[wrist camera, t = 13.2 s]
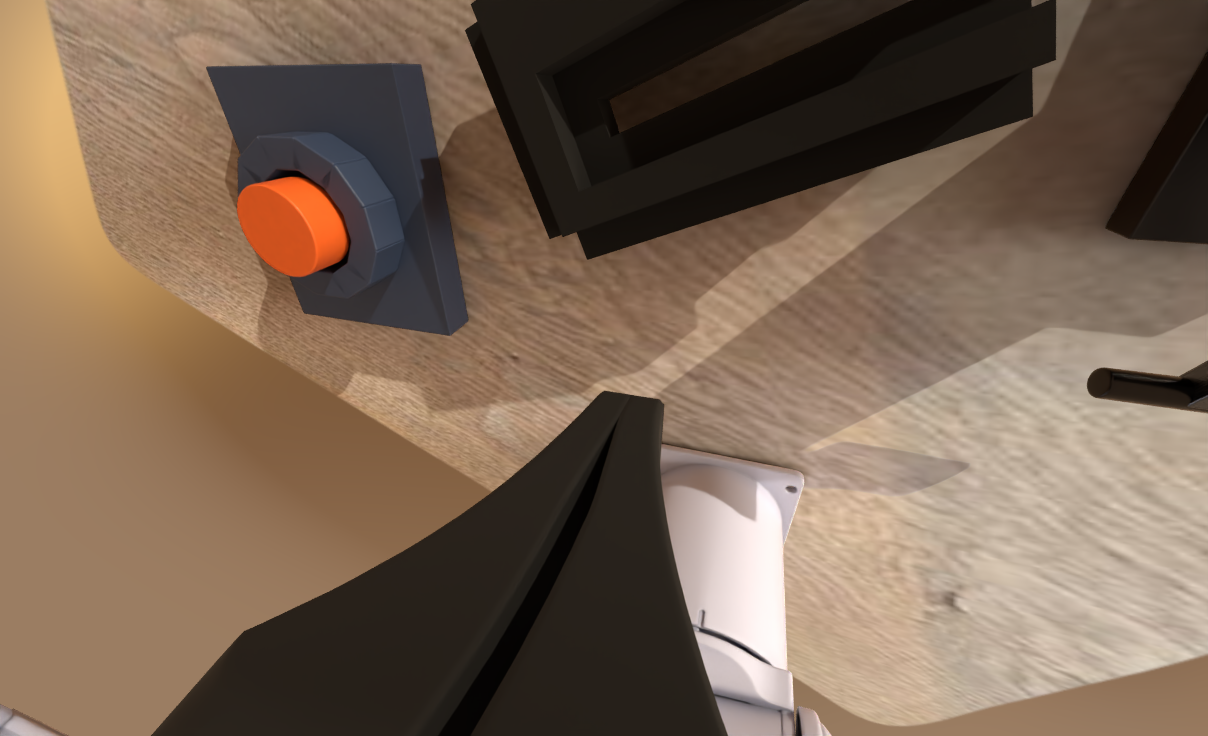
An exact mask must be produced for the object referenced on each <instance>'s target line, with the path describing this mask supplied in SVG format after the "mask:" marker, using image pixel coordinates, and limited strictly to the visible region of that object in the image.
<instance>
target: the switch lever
mask: <svg viewBox="0 0 1208 736" xmlns="http://www.w3.org/2000/svg"><path fill="white" fill-rule="evenodd" d="M1087 389H1088V392H1089V394H1090V395H1091V396H1093V397H1095V398H1100V399H1107V400H1114V401H1122V402H1129V403H1136V404H1143V405H1151V406H1158V407H1165V408H1173V409H1180V410H1187V411H1194V412H1202V413H1208V361H1206V362H1204V363H1202V364H1201V365H1199V366H1197V367H1195V368H1193V369H1192V370H1190V371H1188V372H1186V373H1184V374H1182V375H1181V376H1179V377H1178V376H1170V375H1161V374H1153V373H1145V372H1137V371H1129V370H1121V369H1113V368H1099V369H1096V370H1095V371H1093V372H1092V373H1091V375H1090V376H1089V378H1088V381H1087Z"/></svg>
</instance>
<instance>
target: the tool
mask: <svg viewBox="0 0 1208 736" xmlns="http://www.w3.org/2000/svg"><path fill="white" fill-rule="evenodd" d="M806 1H808V0H476V1H474V2H473V3H472V4H471V6H472V9H473V11H474V14H475V16H476V19H477V22H476V23H475V24H473V25H472V26H470V27H469V28H467V29H466V30H465V32H466V34H467V37H468V39H469V41H470V44H471V46H472V49H473V51H474V54H475V56H476V59H477V61H478V64H479V66H480V69H481V71H482V73H483V76H484V78H485V81H486V83H487V86H488V88H489V91H490V93H491V96H492V98H493V101H494V103H495V106H496V108H497V110H498V113H499V115H500V118H501V120H502V123H503V125H504V128H505V130H506V133H507V135H508V138H509V140H510V142H511V145H512V147H513V150H514V152H515V155H516V157H517V160H518V162H519V165H520V167H521V170H522V172H523V174H524V177H525V179H526V182H527V184H528V187H529V189H530V192H531V194H532V197H533V199H534V202H535V204H536V207H537V209H538V211H539V214H540V216H541V219H542V221H543V224H544V226H545V229H546V231H547V234H548V236H549V239H551V238H554V237H557V236H560V235H562V237H564V236H567V235H570V234H573V233H575V232H577V234H578V237H579V240H580V242H581V245H582V247H583V250H584V253H585V255H586V258H587V260H589V259H592V258H595V257H598V256H601V255H604V254H607V253H610V252H613V251H617V250H620V249H623V248H626V247H629V246H632V245H635V244H638V243H641V242H644V241H648V240H651V239H654V238H657V237H660V236H663V235H666V234H669V233H672V232H676V231H679V230H682V229H685V228H688V227H691V226H694V225H697V224H700V223H703V222H707V221H710V220H713V219H716V218H719V217H722V216H725V215H728V214H731V213H735V212H738V211H741V210H744V209H747V208H750V207H753V206H756V205H759V204H763V203H766V202H769V201H772V200H775V199H778V198H781V197H784V196H787V195H790V194H794V193H797V192H800V191H803V190H806V189H809V188H812V187H815V186H818V185H822V184H825V183H828V182H831V181H834V180H837V179H840V178H843V177H846V176H849V175H853V174H856V173H859V172H862V171H865V170H868V169H871V168H874V167H877V166H881V165H884V164H887V163H890V162H893V161H896V160H899V159H902V158H905V157H909V156H912V155H915V154H918V153H921V152H924V151H927V150H930V149H933V148H936V147H940V146H943V145H946V144H949V143H952V142H955V141H958V140H961V139H964V138H968V137H971V136H974V135H977V134H980V133H983V132H986V131H989V130H992V129H995V128H999V127H1002V126H1005V125H1008V124H1011V123H1014V122H1017V121H1020V120H1023V119H1027V118H1030V117H1033V90H1032V68H1035V67H1037V66H1040V65H1043V64H1046V63H1049V62H1051V61H1054V60H1056V0H1049V1H1046V2H1044V3H1041V4H1039V5H1036V6H1034V7H1032V8H1031V0H912V1H910V2H908V3H905V4H903V5H901V6H899V7H897V8H894V9H892V10H890V11H888V12H886V13H883V14H881V15H879V16H877V17H875V18H872V19H870V20H868V21H866V22H864V23H861V24H859V25H857V26H855V27H853V28H850V29H848V30H846V31H844V32H842V33H839V34H837V35H835V36H833V37H831V38H828V39H826V40H824V41H822V42H820V43H817V44H815V45H813V46H811V47H809V48H806V49H804V50H802V51H800V52H798V53H795V54H793V55H791V56H789V57H786V58H784V59H782V60H780V61H778V62H775V63H773V64H771V65H769V66H767V67H764V68H762V69H760V70H758V71H756V72H753V73H751V74H749V75H747V76H745V77H742V78H740V79H738V80H736V81H734V82H731V83H729V84H727V85H725V86H723V87H720V88H718V89H716V90H714V91H712V92H709V93H707V94H705V95H703V96H701V97H698V98H696V99H694V100H692V101H690V102H687V103H685V104H683V105H681V106H679V107H676V108H674V109H672V110H670V111H668V112H665V113H663V114H661V115H659V116H657V117H654V118H652V119H650V120H648V121H646V122H643V123H641V124H639V125H637V126H635V127H632V128H630V129H628V130H626V131H624V132H621V133H619V129H618V126H617V123H616V120H615V117H614V114H613V111H612V108H611V105H610V101H609V99H611V98H613V97H615V96H617V95H619V94H621V93H624V92H626V91H628V90H630V89H632V88H634V87H636V86H638V85H640V84H642V83H644V82H646V81H648V80H650V79H652V78H654V77H656V76H658V75H660V74H662V73H664V72H666V71H668V70H670V69H672V68H674V67H676V66H678V65H680V64H682V63H684V62H686V61H688V60H690V59H692V58H694V57H696V56H698V55H700V54H702V53H704V52H706V51H708V50H710V49H712V48H714V47H716V46H718V45H720V44H722V43H724V42H726V41H728V40H730V39H732V38H734V37H736V36H738V35H740V34H742V33H744V32H746V31H748V30H750V29H752V28H754V27H756V26H758V25H760V24H762V23H764V22H766V21H768V20H770V19H772V18H774V17H776V16H778V15H780V14H782V13H784V12H786V11H788V10H790V9H792V8H794V7H796V6H798V5H800V4H802V3H804V2H806Z"/></svg>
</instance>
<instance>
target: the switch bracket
mask: <svg viewBox="0 0 1208 736" xmlns="http://www.w3.org/2000/svg"><path fill="white" fill-rule="evenodd" d="M1106 229H1108V230H1110V231H1113V232H1115V233H1117V234H1119V235H1122V236H1124V237H1126V238H1128V239H1137V240H1152V241H1167V242H1183V243H1198V244H1208V53H1207V54H1206V56H1205V58H1204V60H1203V61H1202V63H1201V65H1200V66H1199V68H1198V70H1197V72H1196V73H1195V75H1194V77H1193V78H1192V80H1191V82H1190V83H1189V85H1188V87H1187V89H1186V90H1185V92H1184V94H1183V95H1182V97H1181V99H1180V101H1179V102H1178V104H1177V106H1176V107H1175V109H1174V111H1173V113H1172V114H1171V116H1170V118H1169V119H1168V121H1167V123H1166V124H1165V126H1164V128H1163V130H1162V131H1161V133H1160V135H1159V136H1158V138H1157V140H1156V142H1155V143H1154V145H1153V147H1152V148H1151V150H1150V152H1149V154H1148V155H1147V157H1146V159H1145V160H1144V162H1143V164H1142V165H1141V167H1140V169H1139V171H1138V172H1137V174H1136V176H1135V177H1134V179H1133V181H1132V183H1131V184H1130V186H1129V188H1128V189H1127V191H1126V193H1125V195H1124V196H1123V198H1122V200H1121V201H1120V203H1119V205H1118V206H1117V208H1116V210H1115V212H1114V213H1113V215H1112V217H1111V218H1110V220H1109V222H1108V224H1107V225H1106Z"/></svg>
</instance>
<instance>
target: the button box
mask: <svg viewBox="0 0 1208 736" xmlns="http://www.w3.org/2000/svg"><path fill="white" fill-rule="evenodd" d="M206 69H207V71H208V74H209V76H210V79H211V81H212V84H213V86H214V89H215V91H216V94H217V96H218V99H219V101H220V104H221V106H222V109H223V111H224V114H225V117H226V119H227V122H228V124H229V127H230V129H231V132H232V134H233V137H234V139H235V142H236V144H237V147H238V149H239V152H240V154H241V156H240V157H239V158H238V197H239V195H240V193H241V192H242V190H243V189H244V188H246V187H247V186H249V185H252V184H256V183H261V182H266V181H271V180H276V179H281V178H286V177H291V176H296V177H302V178H305V179H308V180H310V181H312V182H314V183H315V184H317V185H318V186H320V187H321V188H322V189H323V190H325V191H326V192H327V193H328V194H329V196H330V197H331V198H332V200H333V201H334V202H335V204H336V205H337V206H338V208H339V209H340V210H341V212H342V214H343V216H344V219H345V223H346V226H347V229H348V232H349V248H348V251H347V254H346V255H345V257H344V258H343V259H342V260H341V261H339V262H338V263H335V264H333V265H331V266H328V267H326V268H324V269H321V270H319V271H317V272H314V273H312V274H310V275H307V276H304V277H293V276H289V275H287V276H289V277H290V280H291V282H292V285H293V287H294V290H295V292H296V295H297V297H298V300H299V302H300V305H301V307H302V310H303V312H304V313H305V314H311V315H318V316H324V317H331V318H337V319H344V320H350V321H357V322H363V323H370V324H376V325H383V326H389V327H396V328H402V329H409V330H415V331H422V332H428V333H435V334H441V335H448V336H451V335H452V334H453V333H454V332H456V331H457V330H458V329H459V328H461V327H462V326H463V325H464V324H465V323H467V322H468V316H467V310H466V305H465V300H464V294H463V289H462V283H461V278H460V273H459V267H458V262H457V256H456V251H455V245H454V240H453V235H452V229H451V224H450V218H449V213H448V208H447V202H446V197H445V191H444V186H443V181H442V175H441V170H440V164H439V159H438V153H437V148H436V143H435V137H434V132H433V126H432V121H431V116H430V110H429V105H428V99H427V94H426V89H425V83H424V78H423V72H422V67H421V65H419V64H397V63H380V64H324V65H268V66H211V67H206Z"/></svg>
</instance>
